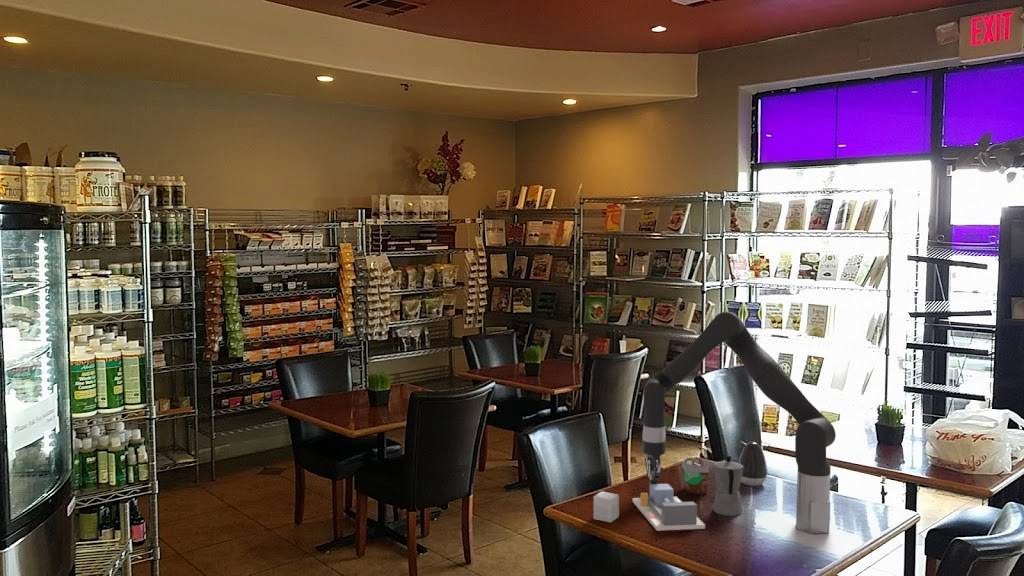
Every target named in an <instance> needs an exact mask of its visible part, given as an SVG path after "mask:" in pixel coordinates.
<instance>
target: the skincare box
mask: <svg viewBox="0 0 1024 576" xmlns="http://www.w3.org/2000/svg"><path fill="white" fill-rule="evenodd" d="M619 517H620V495H619V493H618V494H617V493H611V492H606V491H602V490H601V491H600V492H598V493H597V494H595V495H593V519H594V520H597V521H601V522H607V523H612V522H614V521H615V520H616V519H619Z"/></svg>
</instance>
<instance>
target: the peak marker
mask: <svg viewBox="0 0 1024 576" xmlns="http://www.w3.org/2000/svg"><path fill="white" fill-rule="evenodd" d="M648 496H649V493H648V492H640V497H641V506H648Z"/></svg>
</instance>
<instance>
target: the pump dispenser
mask: <svg viewBox="0 0 1024 576" xmlns="http://www.w3.org/2000/svg"><path fill="white" fill-rule="evenodd" d="M739 445H741V446H742V447H743V448H742V451H741V454H740V456H739V460H738V463H739V464H741V465H743V466H744V467H743V473H742V478H741V483H742V484H744V485H745V486H749V487H758V486H761V485H763V484H764V483H765V481H766V479H767V477H768V467H767V460H766V458H765V455H764V454H765V453H764V451H763V449H762V447H761V445H760V444H759V443H758V442H755V441H749V442H747V443H745V442H743V441H739Z"/></svg>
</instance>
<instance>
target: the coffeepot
mask: <svg viewBox="0 0 1024 576" xmlns="http://www.w3.org/2000/svg"><path fill="white" fill-rule="evenodd" d="M725 458H726V460H725V459H723V460H721V461H720V460H719V461H715V462H714V463H713V465H712V466H713V472H714V478H715V479H714V480H715V481H714V482H715V485H716V486H717V487H716V491H715V493H714V494H715V496H714V501H713V505H712V511H713V512H714V513H716V514H718V515H721V516H727V517H733V516H734V517H735V516H739V515H741V514H742V512H743V506H742V505H743V504H742V501H741V499H742V498H741V493H740V487H741V483H742V482H741V478H742V473H743V467H744V466H743V465H741V464H739V462H735V461H732V456H731V455H726V456H725Z"/></svg>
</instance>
